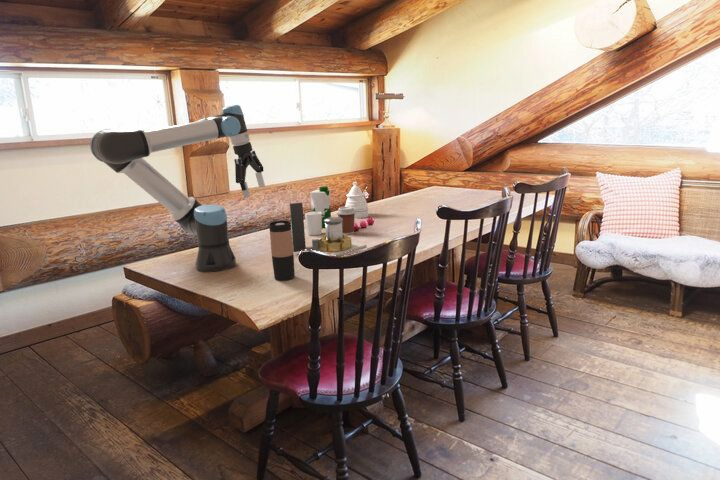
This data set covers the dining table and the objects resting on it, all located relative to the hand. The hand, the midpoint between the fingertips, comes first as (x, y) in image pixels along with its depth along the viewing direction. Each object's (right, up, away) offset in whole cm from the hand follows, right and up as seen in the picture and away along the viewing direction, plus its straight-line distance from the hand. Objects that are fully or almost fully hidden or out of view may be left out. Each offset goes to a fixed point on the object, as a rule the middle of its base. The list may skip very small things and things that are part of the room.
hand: (255, 192), depth 227 cm
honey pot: (+43, -8, +62) cm, 76 cm away
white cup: (+23, -18, +26) cm, 39 cm away
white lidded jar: (+35, -24, -4) cm, 43 cm away
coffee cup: (+39, -17, +24) cm, 49 cm away
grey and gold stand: (+31, -24, -6) cm, 40 cm away
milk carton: (+26, -14, +41) cm, 50 cm away
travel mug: (+18, -34, -38) cm, 54 cm away
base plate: (+34, -24, -4) cm, 42 cm away
